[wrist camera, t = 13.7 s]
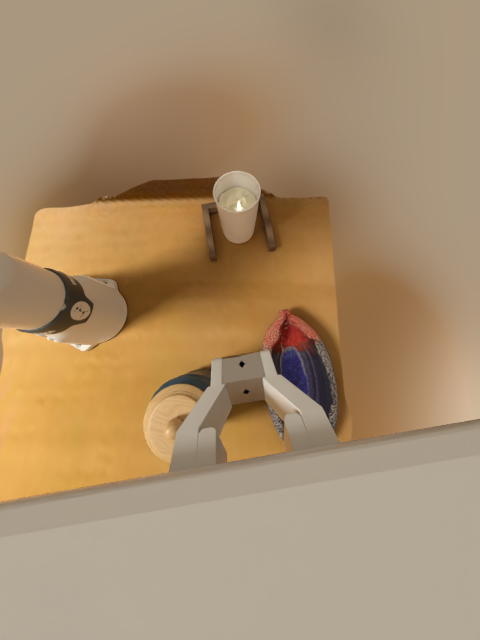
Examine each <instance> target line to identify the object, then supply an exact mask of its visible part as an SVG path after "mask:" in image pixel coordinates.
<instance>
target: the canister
mask: <svg viewBox="0 0 480 640" xmlns="http://www.w3.org/2000/svg"><path fill="white" fill-rule="evenodd" d="M210 386H211V371H208V370H194V371H191V372H189V373H187V374H185V375H181V376H179V377H177V378H174V379H172V380H169V381H168V382H166V383H165V384H163V385H162V386H161V387H160V388H159V389H158V390H157V391H156V393H155V394H154V396H153V397H152V399H151V401H150V403H149V405H148V407H147V410H146V412H145V416H144V423H143V429H144V435H145V439H146V442H147V444H148V446H149V447H150V449H151V450H152V452H153V453H154V454H155V455H156V456H158V457H159V458H160V459H162V460H164V461H166V462H169V463H171V458H172V453H173V448H174V442H175V437H176V432H177V431H178V429H179V428H180V426H181V425H182V423H183V422H184V420H185V419H186V418H187V416H188V415H189V413H190V412H191V410H192V409H193V407H194V406H195V405H196V403H197V402H198V400H199V399H200V397H201V396H202V394H203V393H204V392H205V390H206V389H207V387H210ZM219 436H220V435H219Z"/></svg>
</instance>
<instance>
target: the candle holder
mask: <svg viewBox="0 0 480 640" xmlns="http://www.w3.org/2000/svg"><path fill="white" fill-rule="evenodd" d="M260 195H261V188H260V185H259V182H258V181H257V179H256V178H255V177H254V176H252V175H251V174H249V173H247V172H243V171H232V172H229V173H226V174H224V175H223V176H221V177H220V178H219V179H218V180H217V181H216V183H215V185H214V188H213V197H214V200H215V203H216V207H217V211H218V214H219V218H220V222H221V225H222V229H223V232H224V235H225V237H226V238H227V239H228V240H229V241H230V242H232V243H236V244H241V243H245V242H247V241H248V240H249V239H250V238H251V237H252V235H253V233H254V229H255V223H256V217H257V211H258V205H259V199H260Z"/></svg>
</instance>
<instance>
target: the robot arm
mask: <svg viewBox="0 0 480 640" xmlns="http://www.w3.org/2000/svg"><path fill="white" fill-rule="evenodd" d="M106 283H107V284H106ZM126 317H127V305H126V302H125V300H124V298H123V296H122V295H121V294H120V292H119V291H118V286H117V283H116V281H114V280H112V279H100V278H91V277H88V276H85V275H83V276H68V275H67V274H65V273H62V272H60V271H56V270H53V269H49V268H42V267H39V266H37V265H34V264H32V263H29V262H27V261H24V260H22V259H19V258H17V257H14V256H12V255H9V254H7V253H5V252H2V251H0V328H8V329H16V330H19V331H21V332H27V333H32V334H36V335H39V336H43V337H47V339H48V340H52V341H54V342H58V343H69V344H70V345H72V346H74V347H76V348H77V349H79V350H81V351H89V350H91V349H92V348H93V347H94V346H96V345H97V344H99V343H102V342H105V341H107V340H109V339H111V338H113V337H114V336H115V335H116V334H117V333H118V332H119V331H120V330H121V329H122V327H123V325H124V323H125V321H126ZM81 344H82V345H81ZM260 400H265V401H266V402H267V403H268V404H269V405H270V407H271V408H272V409H273V410H274V411H275V412H276V413H277V415H278V416H279V417H280V418H281V419H282V420H283V421H284V446H285V450H286V452H284V453H279V454H273V455H267V456H261V457H255V458H250V459H244V460H238V461H232V462H227V452H226V450H225V448H224V446H223V444H222V442H221V440H220V438H219V435H220V433H221V431H222V429H223V426H224V424H225V422H226V420H227V417H228V415H229V413H230V411H231V408H232V405H237V404H241V403H246V402H253V401H260ZM0 640H480V419H477V420H471V421H465V422H459V423H453V424H447V425H442V426H436V427H430V428H424V429H418V430H412V431H407V432H401V433H395V434H389V435H384V436H378V437H372V438H366V439H361V440H354V441H348V442H343V443H340V442H339V440H338V438H337V436H336V434H335V432H334V430H333V428H332V426H331V424H330V422H329V420H328V418H327V416H326V414H325V412H324V410H323V408H322V407H321V406H320V405H319V404H317V403H316V402H315V401H314V400H312V399H311V398H310V397H309V396H307V395H306V394H305V393H303V392H302V391H301V390H300V389H298V388H297V387H296V386H295V385H293V384H292V383H291V382H289V381H288V380H287V379H286V378H284V377H283V376H282V375H281V374H280V375H277V372H276V369H275V366H274V363H273V360H272V357H271V354H270V351H269V350H263V351H257V352H251V353H246V354H241V355H235V356H228V357H222V358H216V359H212V366H211V386H210V387H207V389H206V390H205V392H204V393H203V394H202V396H201V397H200V399H199V400H198V402H197V403H196V405H195V406H194V407H193V409H192V410H191V412H190V413H189V415H188V416H187V418H186V419H185V420H184V422H183V423H182V425H181V426H180V428H179V429H178V431H177V432H176V437H175V442H174V448H173V453H172V458H171V464H170V469H169V472H168V473H162V474H157V475H151V476H145V477H139V478H133V479H128V480H122V481H116V482H110V483H104V484H99V485H93V486H87V487H81V488H75V489H70V490H64V491H58V492H52V493H46V494H41V495H35V496H29V497H23V498H17V499H12V500H6V501H0Z"/></svg>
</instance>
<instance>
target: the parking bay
mask: <svg viewBox="0 0 480 640" xmlns="http://www.w3.org/2000/svg"><path fill="white" fill-rule="evenodd" d="M258 206H259V207H260V211H261V216H262V221H263V225H264V230H265V235H266V239H267V244H268V249H269V251H274V250H275V248H276V244H275V239H274V235H273V230H272V226H271V221H270V217H269V212H268V208H267V204H266V199H265V195H264V194H261V195H260V199H259V205H258ZM202 210H203V217H204V223H205V230H206V236H207V243H208V249H209V256H210V260H211V261H216V260H217V258H216V252H215V246H214V240H213V233H212V227H211V221H210V215H209V214H213V213H218V211H217V207H216V203H215V202H214V203H208V204H202Z"/></svg>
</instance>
